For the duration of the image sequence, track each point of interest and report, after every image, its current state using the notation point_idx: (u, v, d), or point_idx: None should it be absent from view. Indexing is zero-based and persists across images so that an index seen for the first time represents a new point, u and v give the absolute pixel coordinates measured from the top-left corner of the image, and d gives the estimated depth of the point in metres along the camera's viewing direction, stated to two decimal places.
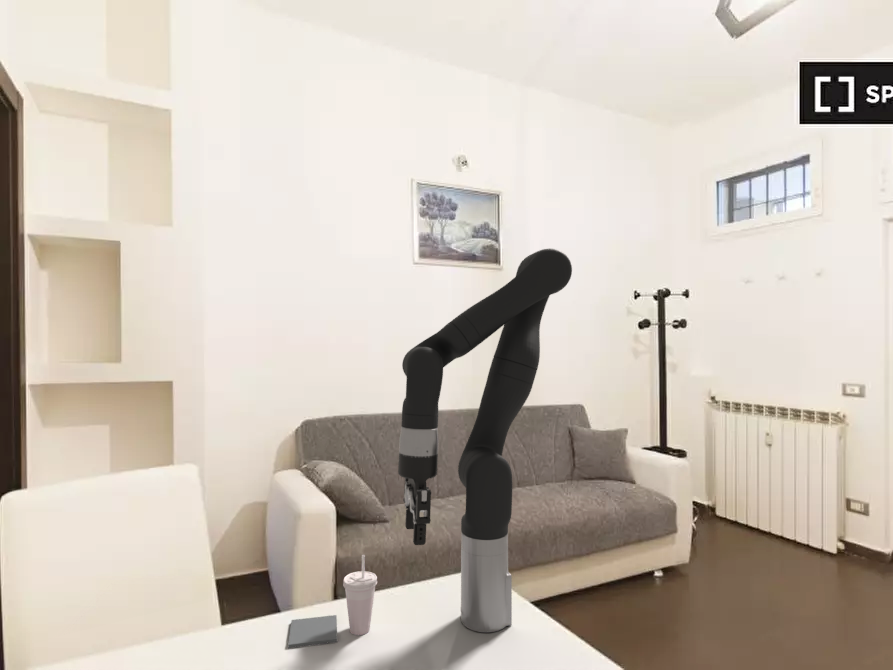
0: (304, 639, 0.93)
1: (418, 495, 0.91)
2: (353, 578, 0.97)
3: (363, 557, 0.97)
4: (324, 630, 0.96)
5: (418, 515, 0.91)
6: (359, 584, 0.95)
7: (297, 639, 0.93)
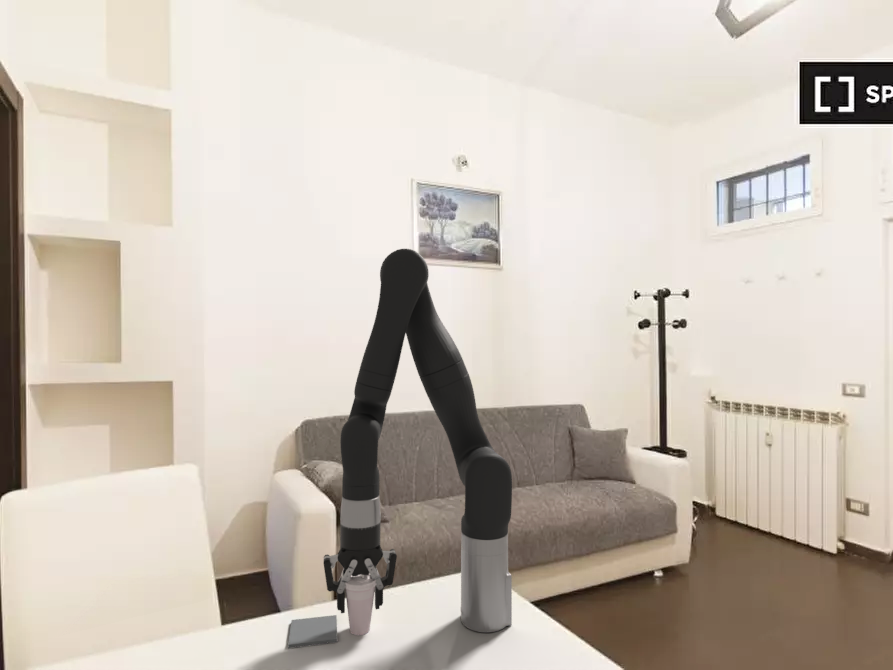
0: (304, 639, 0.93)
1: None
2: (353, 578, 0.97)
3: None
4: (324, 630, 0.96)
5: (393, 576, 0.98)
6: (359, 584, 0.95)
7: (297, 639, 0.93)
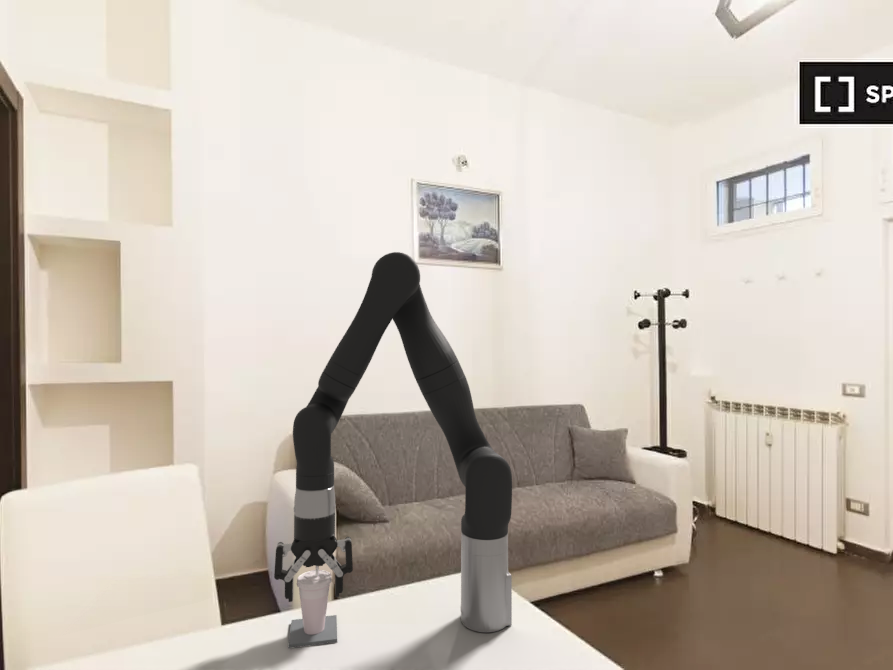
0: (304, 639, 0.93)
1: (351, 545, 0.97)
2: (307, 577, 0.96)
3: None
4: (324, 630, 0.96)
5: (352, 563, 0.97)
6: (312, 583, 0.94)
7: (297, 639, 0.93)
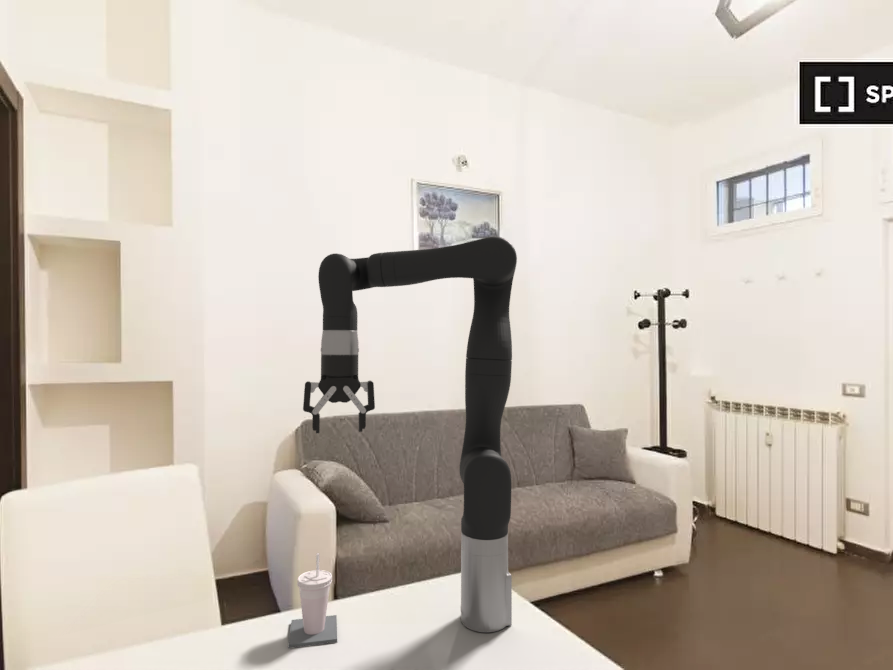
0: (304, 639, 0.93)
1: (373, 385, 1.06)
2: (307, 577, 0.96)
3: (317, 556, 0.96)
4: (324, 630, 0.96)
5: (374, 401, 1.06)
6: (313, 583, 0.94)
7: (297, 639, 0.93)
